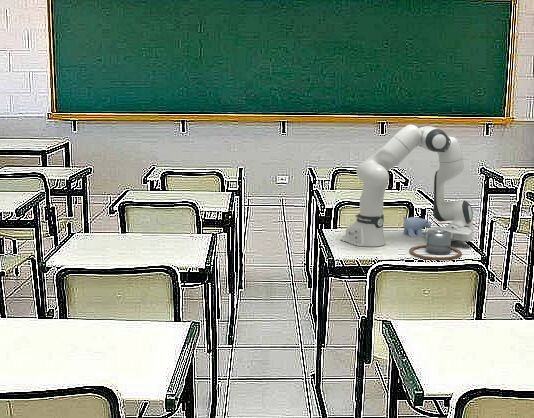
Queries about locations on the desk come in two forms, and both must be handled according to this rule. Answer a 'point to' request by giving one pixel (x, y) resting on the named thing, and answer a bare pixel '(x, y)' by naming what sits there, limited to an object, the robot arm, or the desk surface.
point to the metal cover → (438, 242)
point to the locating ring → (434, 257)
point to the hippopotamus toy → (415, 226)
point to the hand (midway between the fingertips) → (444, 237)
